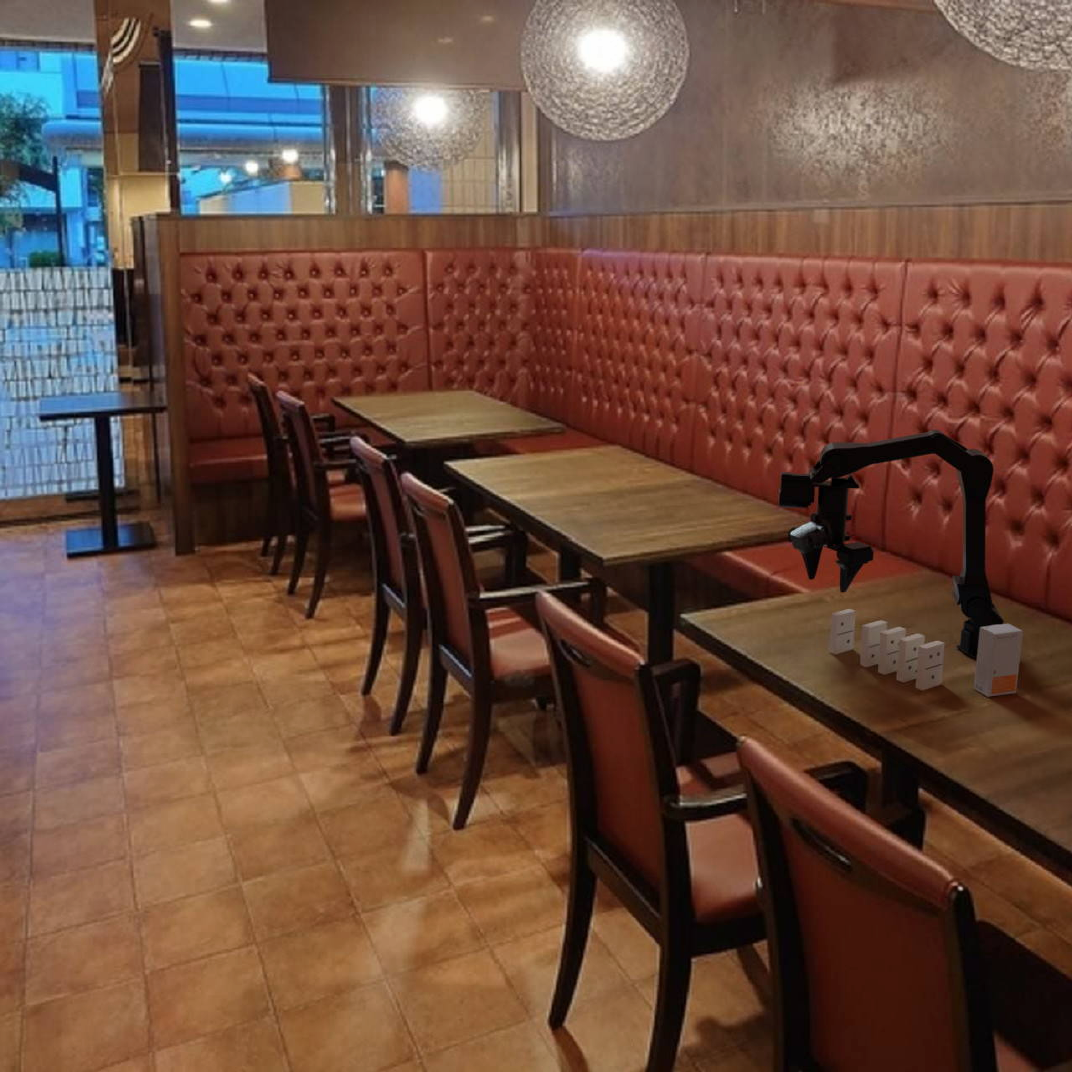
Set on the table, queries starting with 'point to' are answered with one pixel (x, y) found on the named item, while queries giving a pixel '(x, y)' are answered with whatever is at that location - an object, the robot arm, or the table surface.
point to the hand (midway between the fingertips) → (827, 585)
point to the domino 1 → (842, 631)
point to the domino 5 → (930, 665)
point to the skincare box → (998, 659)
